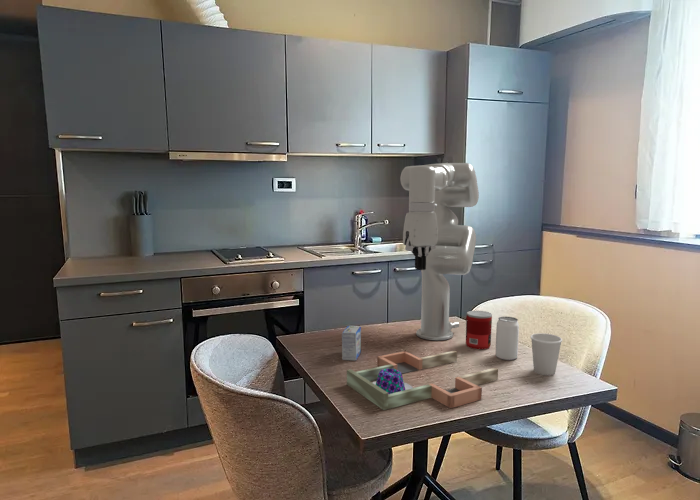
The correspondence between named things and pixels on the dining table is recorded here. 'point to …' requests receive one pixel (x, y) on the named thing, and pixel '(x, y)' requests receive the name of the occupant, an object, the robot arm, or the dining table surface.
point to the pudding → (391, 381)
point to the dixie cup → (545, 352)
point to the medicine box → (351, 343)
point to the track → (387, 401)
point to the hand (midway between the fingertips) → (420, 269)
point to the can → (507, 338)
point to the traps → (449, 398)
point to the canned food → (478, 329)
